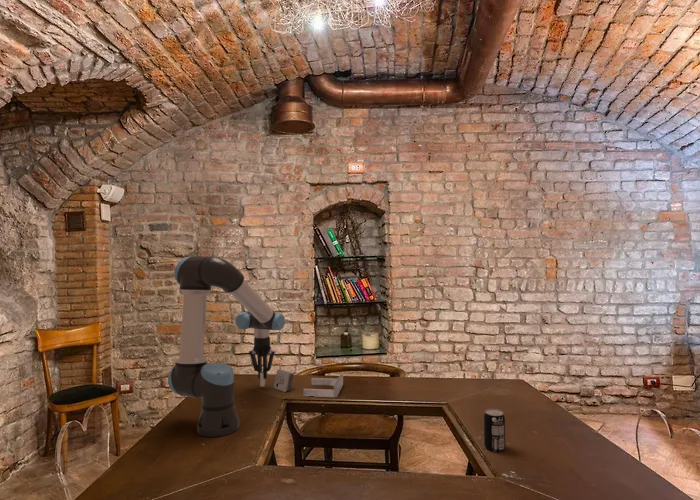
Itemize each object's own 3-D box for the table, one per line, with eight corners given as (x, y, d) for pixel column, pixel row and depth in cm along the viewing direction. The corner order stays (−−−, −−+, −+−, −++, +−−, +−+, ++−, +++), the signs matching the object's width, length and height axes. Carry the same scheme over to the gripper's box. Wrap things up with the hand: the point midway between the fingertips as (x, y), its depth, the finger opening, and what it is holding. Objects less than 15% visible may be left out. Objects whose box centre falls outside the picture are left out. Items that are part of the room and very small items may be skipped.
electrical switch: (273, 388, 210) (274, 369, 210) (281, 387, 213) (283, 367, 214) (285, 393, 203) (286, 372, 204) (293, 391, 207) (295, 371, 207)
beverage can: (488, 441, 149) (488, 406, 149) (508, 447, 145) (507, 411, 145) (481, 448, 144) (480, 412, 144) (500, 454, 140) (500, 417, 140)
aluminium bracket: (336, 397, 196) (336, 386, 196) (303, 396, 198) (303, 385, 198) (343, 384, 213) (343, 374, 213) (312, 383, 216) (312, 373, 216)
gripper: (277, 335, 213) (278, 383, 213) (251, 334, 214) (252, 382, 214) (272, 338, 205) (273, 388, 205) (246, 338, 207) (246, 387, 207)
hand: (262, 385), depth 210 cm, fingers closed
